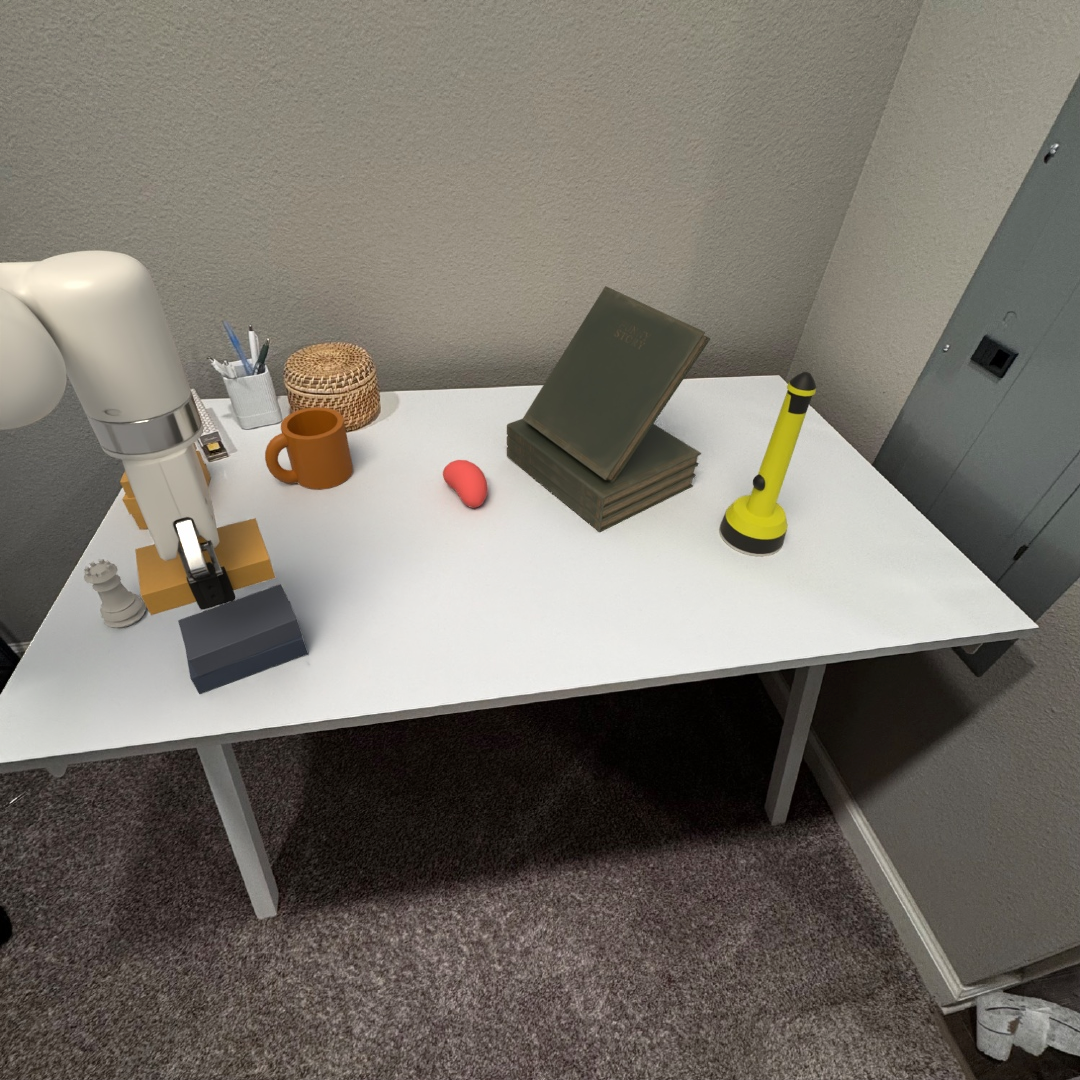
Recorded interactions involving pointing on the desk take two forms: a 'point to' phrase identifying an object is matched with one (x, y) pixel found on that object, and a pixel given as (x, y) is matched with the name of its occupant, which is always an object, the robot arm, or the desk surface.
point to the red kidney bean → (466, 481)
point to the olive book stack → (611, 414)
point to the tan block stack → (131, 500)
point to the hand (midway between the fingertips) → (211, 576)
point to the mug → (312, 449)
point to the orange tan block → (235, 552)
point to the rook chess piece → (114, 595)
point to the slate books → (241, 638)
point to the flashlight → (769, 481)
